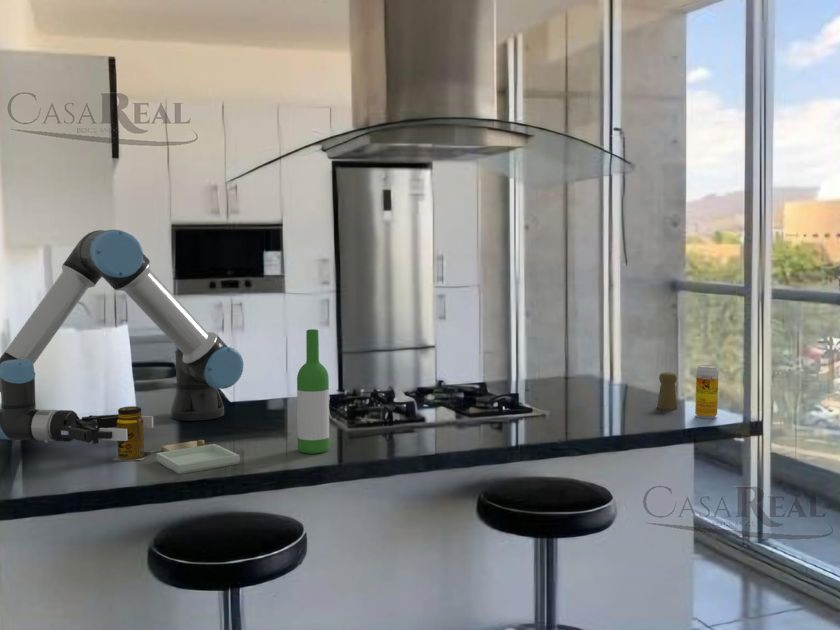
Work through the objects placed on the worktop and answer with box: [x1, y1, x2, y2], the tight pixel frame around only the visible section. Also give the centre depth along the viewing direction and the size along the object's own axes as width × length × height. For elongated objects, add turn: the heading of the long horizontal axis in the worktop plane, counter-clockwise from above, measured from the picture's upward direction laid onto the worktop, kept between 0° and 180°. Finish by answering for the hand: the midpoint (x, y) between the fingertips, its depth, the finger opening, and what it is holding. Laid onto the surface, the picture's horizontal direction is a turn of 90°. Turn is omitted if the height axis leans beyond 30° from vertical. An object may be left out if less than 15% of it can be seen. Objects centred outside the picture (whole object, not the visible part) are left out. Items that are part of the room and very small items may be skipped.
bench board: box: [160, 439, 206, 452], centre depth 208 cm, size 9×8×2 cm
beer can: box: [694, 364, 720, 419], centre depth 248 cm, size 6×6×15 cm
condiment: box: [112, 405, 154, 462], centre depth 203 cm, size 7×8×12 cm
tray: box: [156, 443, 241, 475], centre depth 197 cm, size 15×14×2 cm
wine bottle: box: [296, 328, 330, 455], centre depth 207 cm, size 8×8×30 cm
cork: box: [656, 371, 678, 411], centre depth 261 cm, size 6×6×11 cm
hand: (140, 428), depth 202 cm, fingers open, 13 cm apart
